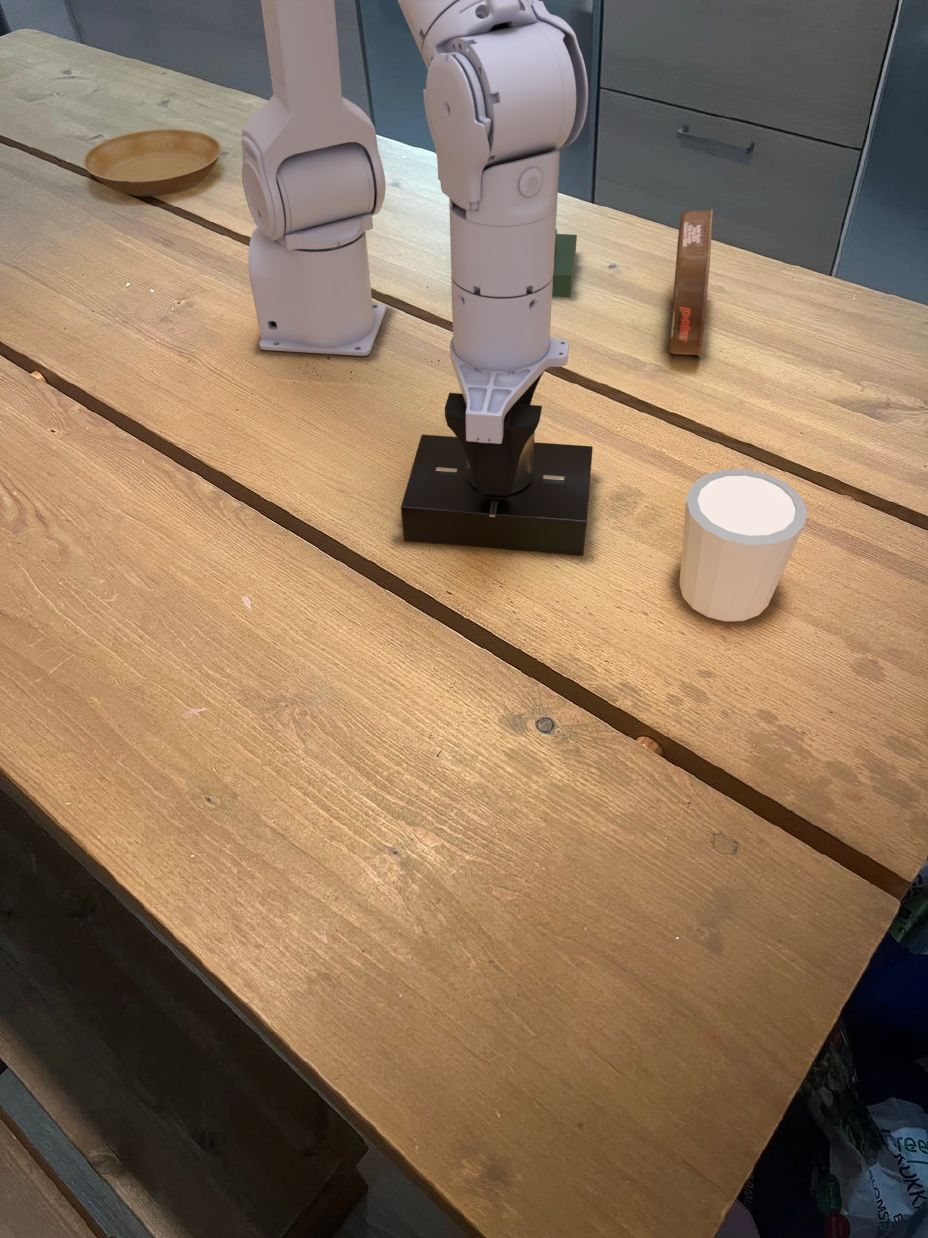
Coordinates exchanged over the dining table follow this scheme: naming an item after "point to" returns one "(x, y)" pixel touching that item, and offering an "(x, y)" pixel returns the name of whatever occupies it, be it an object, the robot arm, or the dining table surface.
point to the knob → (523, 469)
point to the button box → (563, 264)
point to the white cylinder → (737, 541)
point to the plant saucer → (153, 161)
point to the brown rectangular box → (691, 282)
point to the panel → (498, 501)
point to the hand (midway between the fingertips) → (499, 468)
